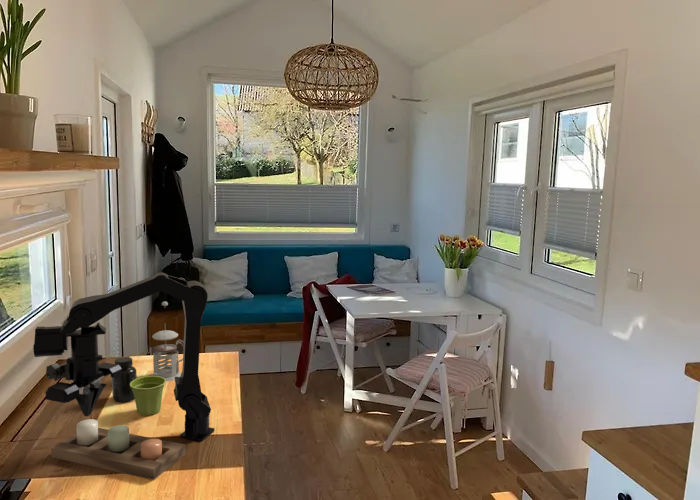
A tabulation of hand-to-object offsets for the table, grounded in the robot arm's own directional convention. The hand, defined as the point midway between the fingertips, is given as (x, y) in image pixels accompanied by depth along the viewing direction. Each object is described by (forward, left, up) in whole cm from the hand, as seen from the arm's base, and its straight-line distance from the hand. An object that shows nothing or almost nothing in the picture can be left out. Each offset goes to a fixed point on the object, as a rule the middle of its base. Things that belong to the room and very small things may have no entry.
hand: (87, 415), depth 134 cm
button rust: (0, +18, -8) cm, 20 cm away
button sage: (0, +9, -6) cm, 11 cm away
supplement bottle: (-28, -12, -9) cm, 32 cm away
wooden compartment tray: (0, +9, -9) cm, 12 cm away
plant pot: (-23, 0, -9) cm, 25 cm away
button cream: (0, 0, -6) cm, 6 cm away
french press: (-48, -11, -9) cm, 50 cm away
